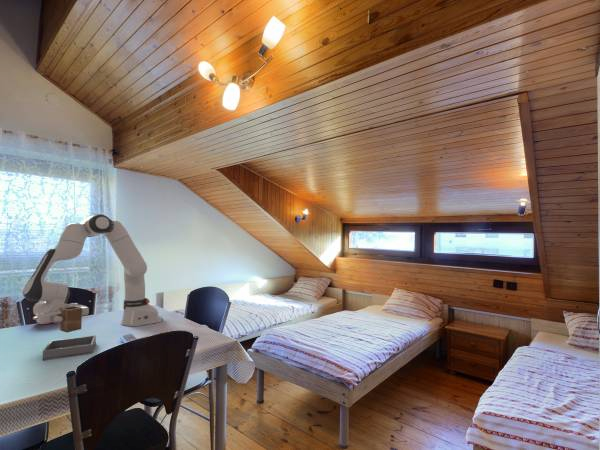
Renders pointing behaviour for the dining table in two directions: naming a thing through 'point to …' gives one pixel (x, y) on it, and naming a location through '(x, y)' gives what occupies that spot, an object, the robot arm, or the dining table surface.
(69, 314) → the walnut crate
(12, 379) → the dining table surface
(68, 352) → the grey crate
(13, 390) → the dining table surface
